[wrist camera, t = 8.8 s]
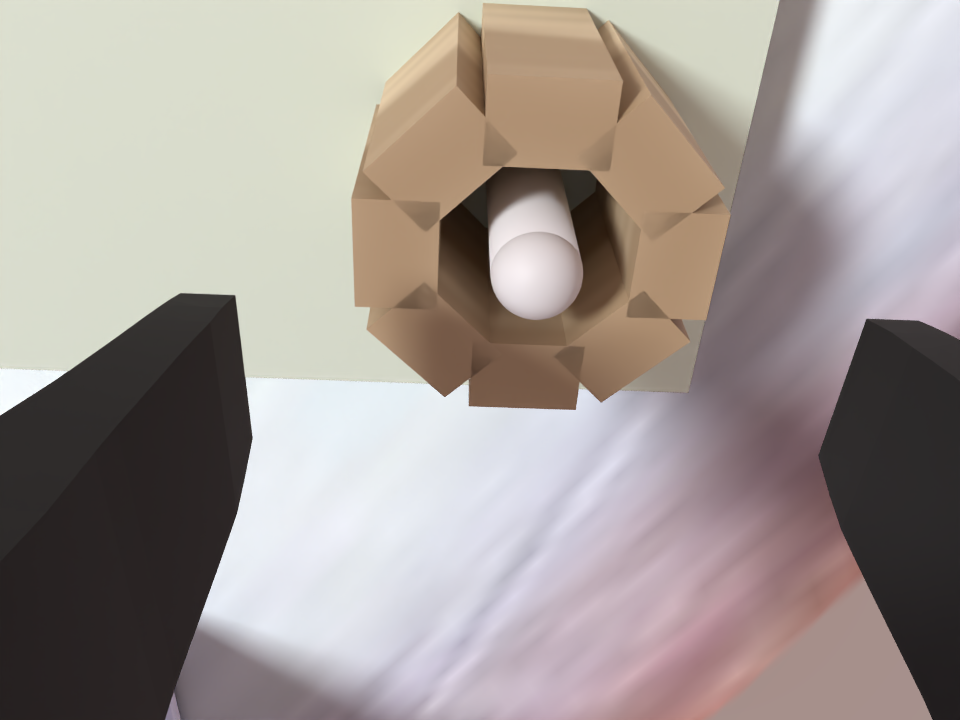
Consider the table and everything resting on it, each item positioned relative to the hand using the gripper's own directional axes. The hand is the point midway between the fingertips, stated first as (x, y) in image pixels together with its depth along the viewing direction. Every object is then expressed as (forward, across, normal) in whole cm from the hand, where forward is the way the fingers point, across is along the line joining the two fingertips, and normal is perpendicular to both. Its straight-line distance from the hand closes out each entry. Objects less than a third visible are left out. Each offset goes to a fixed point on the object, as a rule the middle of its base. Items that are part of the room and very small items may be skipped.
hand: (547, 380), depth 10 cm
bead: (+7, 0, 0) cm, 7 cm away
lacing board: (+8, +4, 0) cm, 9 cm away
